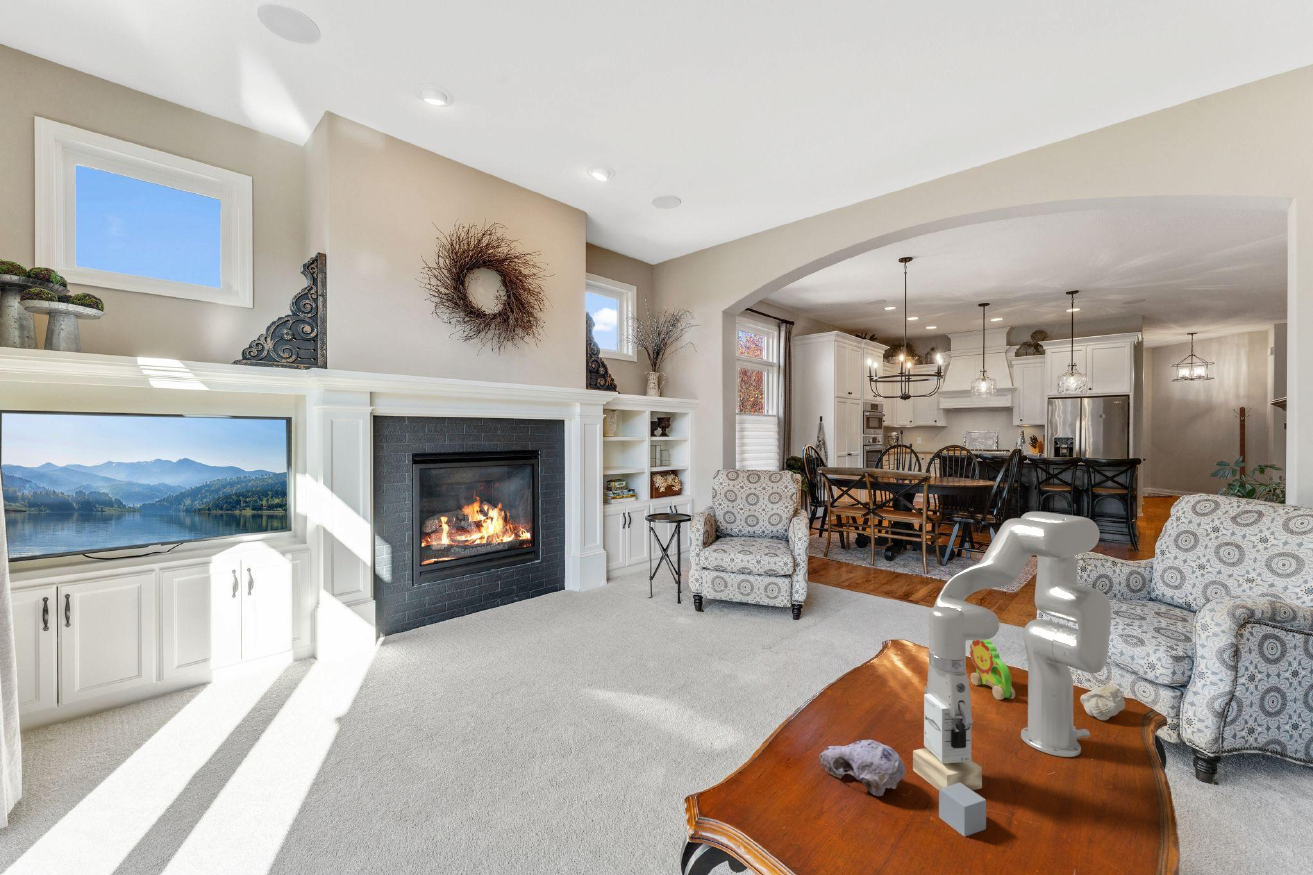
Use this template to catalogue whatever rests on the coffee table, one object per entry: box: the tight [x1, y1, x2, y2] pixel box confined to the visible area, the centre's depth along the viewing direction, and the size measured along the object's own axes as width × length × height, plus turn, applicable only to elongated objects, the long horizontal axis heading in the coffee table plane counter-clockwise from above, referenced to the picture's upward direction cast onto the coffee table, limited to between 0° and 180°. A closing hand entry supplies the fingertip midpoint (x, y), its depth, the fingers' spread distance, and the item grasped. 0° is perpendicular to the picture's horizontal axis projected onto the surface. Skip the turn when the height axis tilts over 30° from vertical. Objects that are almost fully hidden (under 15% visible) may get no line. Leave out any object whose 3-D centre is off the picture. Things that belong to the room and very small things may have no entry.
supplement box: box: [923, 693, 972, 763], centre depth 127 cm, size 7×7×13 cm
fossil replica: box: [1079, 686, 1126, 721], centre depth 156 cm, size 12×8×10 cm
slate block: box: [938, 783, 987, 838], centre depth 112 cm, size 6×6×6 cm
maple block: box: [912, 747, 983, 791], centre depth 127 cm, size 10×10×5 cm
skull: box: [818, 739, 906, 797], centre depth 127 cm, size 19×12×10 cm, turn 37°
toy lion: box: [969, 639, 1016, 701], centre depth 172 cm, size 16×5×15 cm, turn 6°
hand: (947, 737), depth 127 cm, fingers closed on supplement box, 7 cm apart
